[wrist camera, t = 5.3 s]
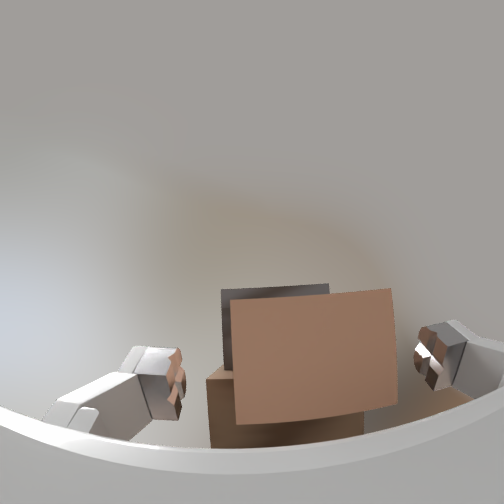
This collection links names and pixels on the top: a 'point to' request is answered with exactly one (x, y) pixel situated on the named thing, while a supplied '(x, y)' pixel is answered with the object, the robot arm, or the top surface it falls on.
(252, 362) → the slat
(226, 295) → the tall post
